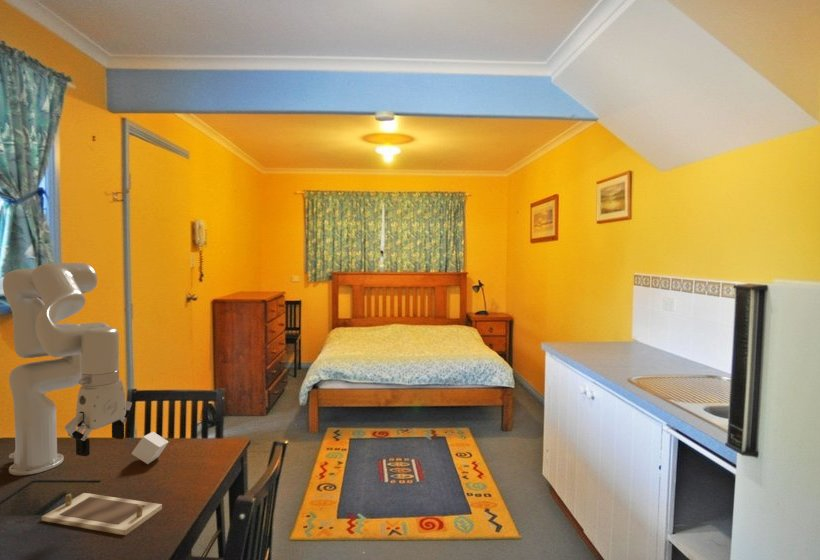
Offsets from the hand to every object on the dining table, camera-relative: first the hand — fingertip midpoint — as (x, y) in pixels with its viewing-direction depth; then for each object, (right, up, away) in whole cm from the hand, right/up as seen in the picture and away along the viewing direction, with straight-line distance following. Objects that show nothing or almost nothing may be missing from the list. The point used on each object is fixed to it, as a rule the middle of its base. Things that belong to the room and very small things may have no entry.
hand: (101, 446), depth 108 cm
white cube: (-5, -16, +29) cm, 34 cm away
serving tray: (0, -17, 0) cm, 17 cm away
